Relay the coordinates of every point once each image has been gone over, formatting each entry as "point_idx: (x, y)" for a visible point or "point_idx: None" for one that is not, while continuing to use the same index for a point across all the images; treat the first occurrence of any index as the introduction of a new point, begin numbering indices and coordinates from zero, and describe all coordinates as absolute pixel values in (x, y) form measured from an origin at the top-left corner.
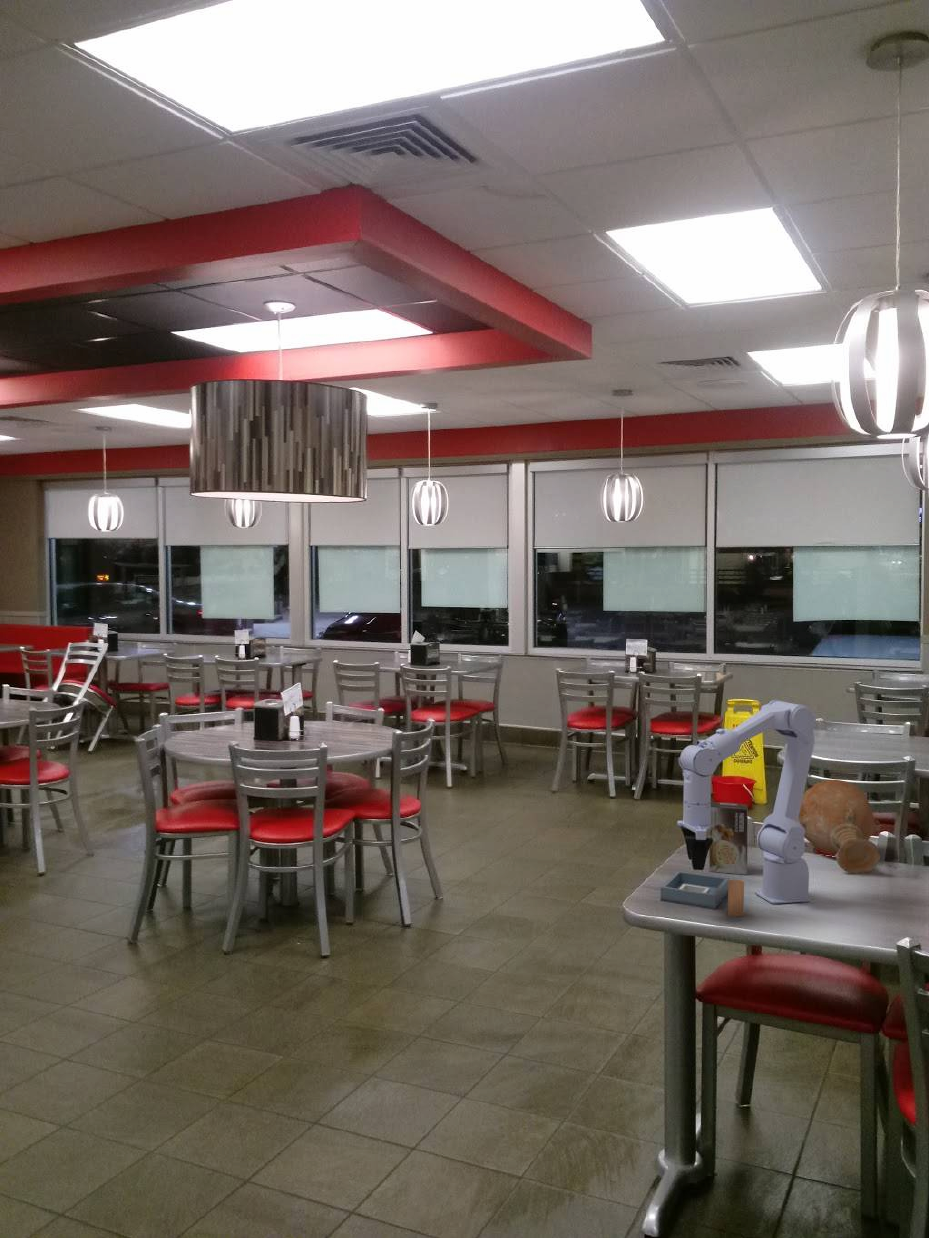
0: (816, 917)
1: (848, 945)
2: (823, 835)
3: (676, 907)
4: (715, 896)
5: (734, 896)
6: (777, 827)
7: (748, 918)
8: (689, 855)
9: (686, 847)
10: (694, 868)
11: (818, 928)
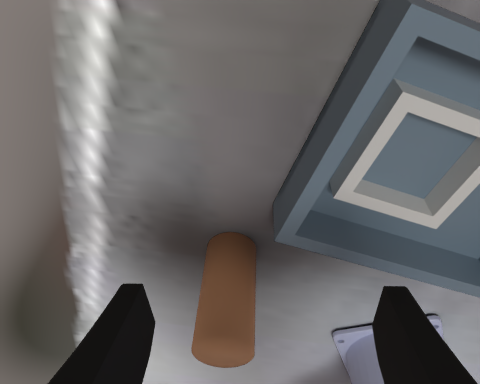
0: (244, 372)
1: None
2: None
3: (278, 64)
4: (280, 238)
5: (200, 299)
6: None
7: (200, 271)
8: (391, 314)
9: (452, 360)
10: (119, 294)
11: (170, 364)
